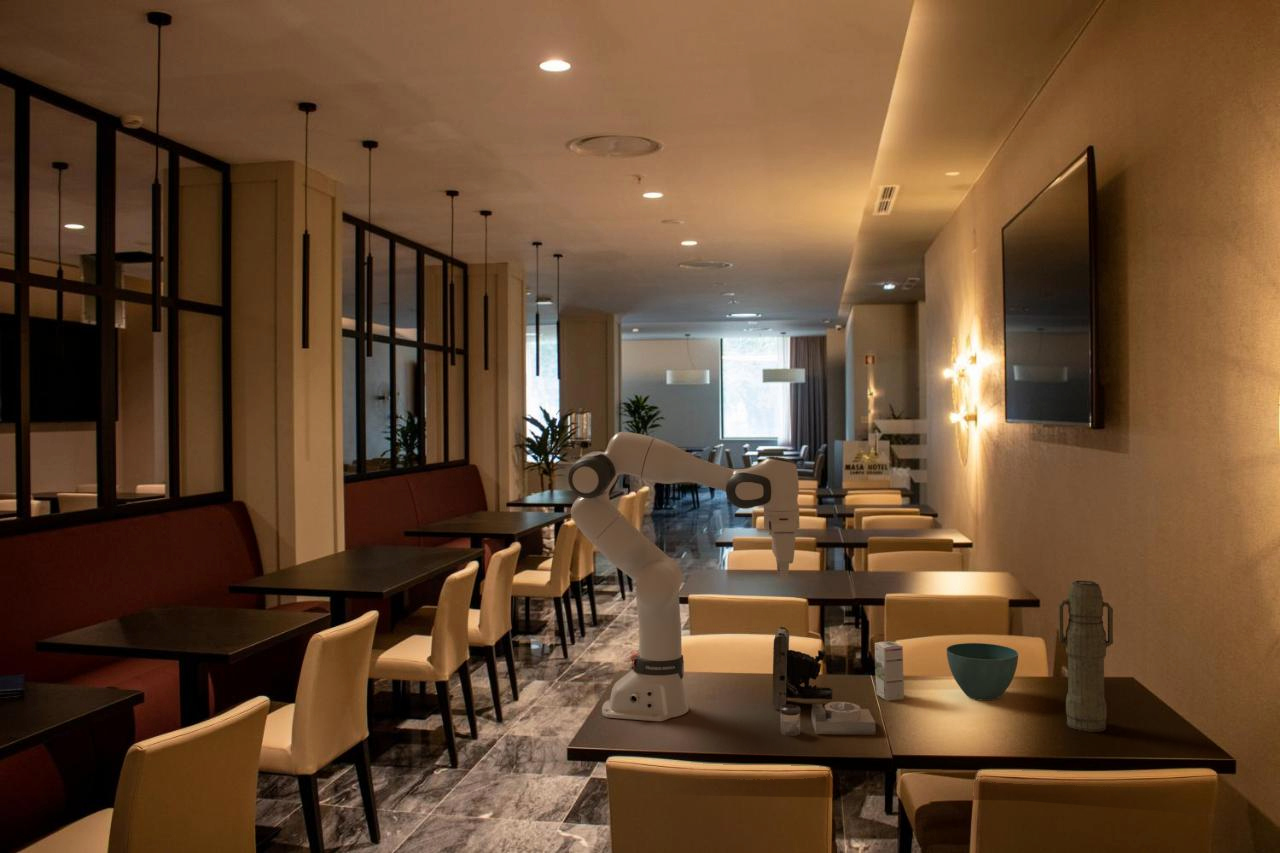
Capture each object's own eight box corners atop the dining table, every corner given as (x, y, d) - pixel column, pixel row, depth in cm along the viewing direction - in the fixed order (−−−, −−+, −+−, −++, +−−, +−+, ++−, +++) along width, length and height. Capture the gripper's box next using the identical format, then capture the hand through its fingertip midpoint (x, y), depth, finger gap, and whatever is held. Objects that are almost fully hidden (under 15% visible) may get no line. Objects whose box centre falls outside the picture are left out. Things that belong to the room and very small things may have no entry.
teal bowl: (954, 705, 247) (954, 658, 247) (940, 685, 265) (940, 641, 265) (1027, 707, 245) (1026, 660, 244) (1008, 686, 263) (1007, 642, 262)
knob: (781, 735, 225) (780, 710, 225) (779, 729, 230) (779, 704, 230) (801, 736, 225) (801, 711, 225) (799, 729, 230) (799, 704, 230)
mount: (816, 734, 226) (815, 713, 226) (811, 720, 236) (811, 700, 236) (875, 734, 225) (875, 713, 225) (868, 721, 235) (868, 701, 235)
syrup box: (904, 699, 252) (904, 645, 252) (884, 701, 251) (884, 646, 251) (894, 693, 258) (893, 640, 258) (874, 695, 257) (873, 641, 256)
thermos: (1117, 733, 224) (1117, 586, 223) (1064, 730, 227) (1063, 584, 226) (1108, 721, 232) (1107, 579, 232) (1056, 718, 235) (1055, 578, 235)
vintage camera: (832, 715, 242) (834, 637, 242) (771, 709, 245) (773, 633, 245) (832, 704, 251) (834, 629, 251) (773, 699, 254) (775, 625, 254)
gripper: (765, 516, 248) (766, 569, 248) (772, 526, 227) (773, 583, 227) (790, 516, 247) (791, 569, 247) (798, 525, 227) (799, 583, 227)
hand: (782, 576), depth 237 cm, fingers open, 8 cm apart
